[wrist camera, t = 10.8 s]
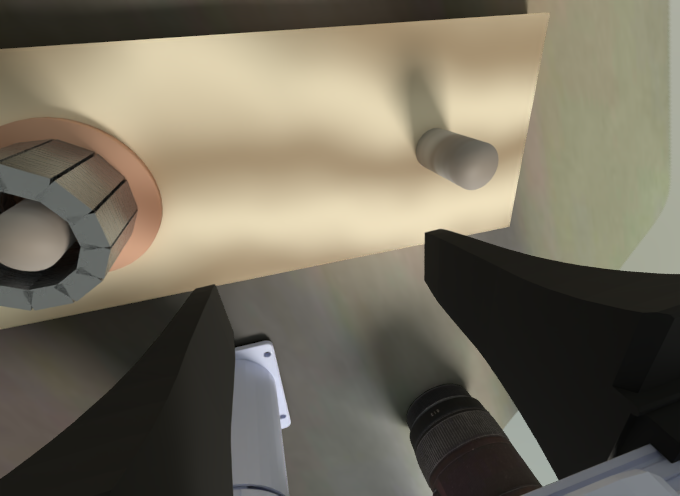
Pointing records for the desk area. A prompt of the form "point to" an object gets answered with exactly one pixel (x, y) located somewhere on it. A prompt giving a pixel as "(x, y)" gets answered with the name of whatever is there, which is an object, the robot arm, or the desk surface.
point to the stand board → (275, 145)
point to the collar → (66, 218)
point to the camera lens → (464, 447)
